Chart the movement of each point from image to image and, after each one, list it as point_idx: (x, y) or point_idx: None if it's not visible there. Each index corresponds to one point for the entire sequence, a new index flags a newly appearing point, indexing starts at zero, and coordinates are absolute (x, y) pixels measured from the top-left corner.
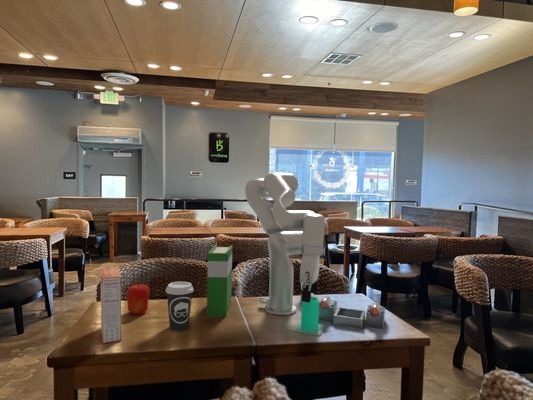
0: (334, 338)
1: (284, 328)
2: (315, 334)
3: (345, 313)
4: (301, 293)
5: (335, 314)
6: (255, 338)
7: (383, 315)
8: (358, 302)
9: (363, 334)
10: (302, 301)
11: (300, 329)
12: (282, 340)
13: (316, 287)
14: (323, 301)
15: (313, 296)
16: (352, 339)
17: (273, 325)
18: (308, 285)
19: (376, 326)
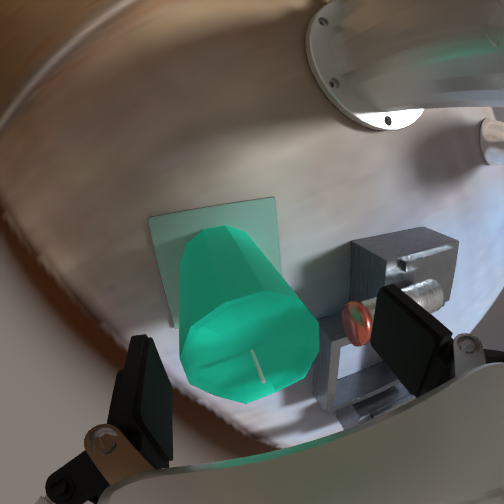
0: None
1: (163, 156)
2: (170, 312)
3: None
4: (120, 386)
5: (344, 341)
6: (12, 118)
7: None
8: (485, 289)
9: (275, 408)
10: (202, 304)
11: (180, 237)
12: (46, 219)
13: (397, 372)
14: (363, 336)
15: (496, 164)
16: (219, 404)
17: (171, 92)
18: (415, 321)
19: (339, 409)
